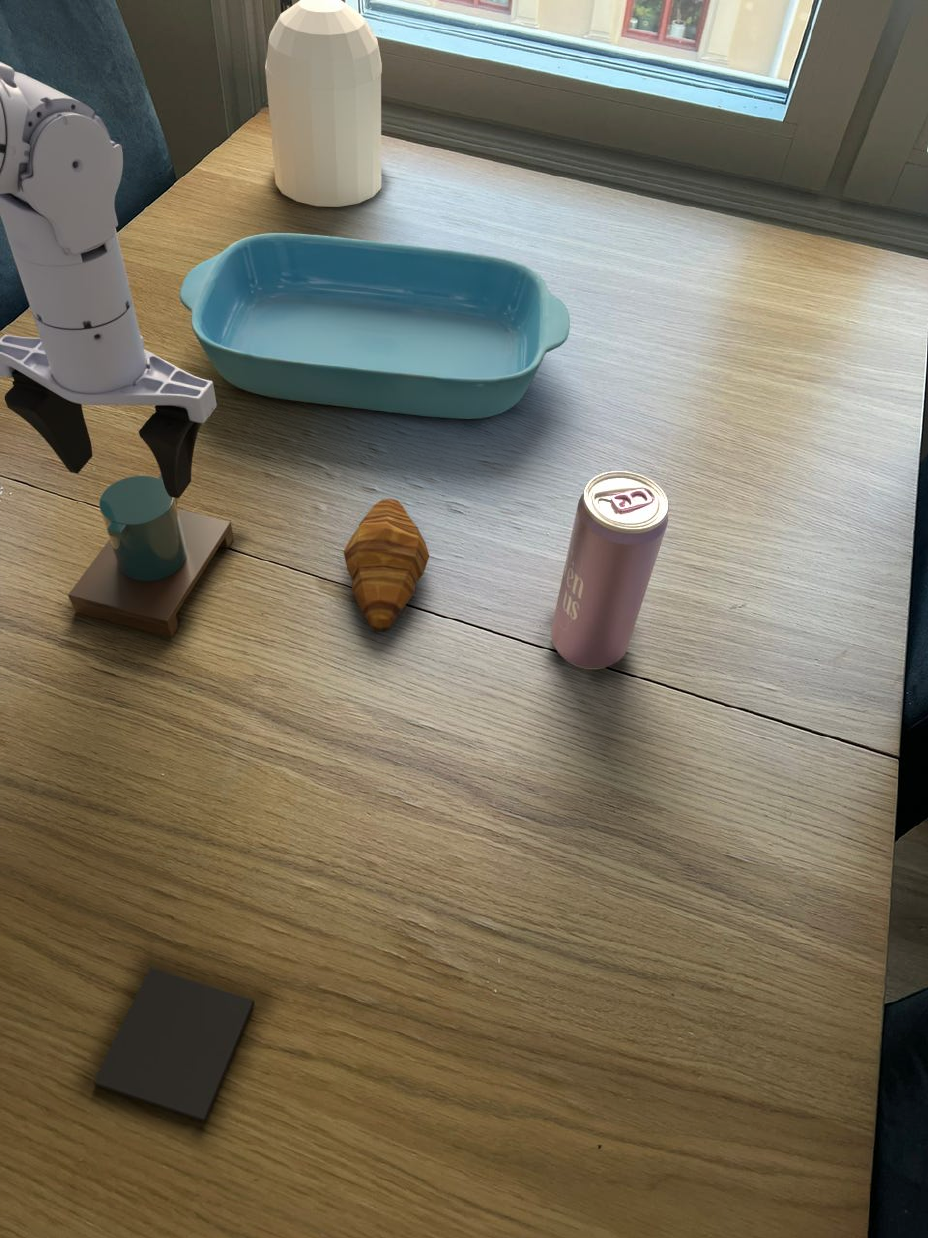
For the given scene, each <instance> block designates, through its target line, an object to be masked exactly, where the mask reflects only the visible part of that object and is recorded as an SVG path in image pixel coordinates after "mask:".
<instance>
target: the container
mask: <svg viewBox="0 0 928 1238" xmlns="http://www.w3.org/2000/svg"><path fill="white" fill-rule="evenodd" d="M264 71H265V81H266V93H267V104H268V114H269V127H270V136H271V147H272V148H271V149H272V158H273V159H272V160H273V170H274V180H275V181H274V182H275V186H276V187H277V189H278V190H279V191H280V193H281V194H282V195H284V196H286V197H288V198H289V199H291V200H293V201H295V202H297V203H301V204H306V205H309V206H314V207H327V208H328V207H329V208H331V207H332V208H333V207H334V208H341V207H345V206H352V205H359V204H360V203H363V202H365V201H367V200H370V199H372V198H374V197H375V196H376V195H377V194H378V192H380V191H381V189H382V73H383V63H382V58H381V53H380V46H379V41H378V38H377V36H376V35H375V33H374V31H373V30H372V28H371V27H370V25H369V23H368V22H367V20H366V18H365V17H364V16H363V15H362V14H360V13H359V11H357V10H356V9H355V8H353V7H352V6H350V5H349V4H347V3H346V2H344V1H343V0H299V1H297V2H295V3H293V5H291V6H290V7H289V8H287V9H286V10H284V11H283V12H281V13H280V14H279V16H278V18H277V20H276V22H275V23H274V25H273V28H272V29H271V31H270V33H269V37H268V42H267V52H266V59H265V66H264Z"/></svg>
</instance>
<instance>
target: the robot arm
mask: <svg viewBox="0 0 928 1238" xmlns="http://www.w3.org/2000/svg"><path fill="white" fill-rule="evenodd" d="M123 155H124V154H123V147H122V145H121V144H119V143H116V142H115V141H114V140H111V136H110V133H109V130H108V127H106V124H105V123H104V121H103V119H102V118H101V117H100V116H99V115H96V114H95V111H94V109H93V108H91V107H90V106H88V104H85V103H84V102H81V101H80V100H78V99H76V98H74V97H72V96H69V95H67V94H65V93H63V92H61V91H59V90H57V89H55V88H54V87H52V86H49V85H47V84H45V83H43V82H41V81H39V80H37V79H34V78H32V77H31V76H28V75H26V74H25V73H22V72H18V71H15V70H14V68H13V67H11V66H9V65H8V64H6V63H3V62H2V61H0V219H1V223H2V225H3V227H4V231H5V233H6V238H7V241H8V244H9V247H10V250H11V253H12V256H13V259H14V262H15V265H16V268H17V272H18V274H19V277H20V280H21V284H22V286H23V289H24V293H25V296H26V299H27V303H28V305H29V308H30V311H31V315H32V317H33V321H34V323H35V326H36V330H37V332H38V336H39V337H27V336H17V335H12V334H7V333H5V334H4V335H2V336H1V338H0V377H3V378H7V379H13V381H12V382H11V383H12V387H11V388H10V389H9V390H8V391H7V392H6V393H5V394H4V397H3V398H4V401H5V404H6V407H7V409H9V410H10V411H12V412H14V413H15V414H17V415H18V416H19V417H20V418H22V419H23V420H24V421H26V422H27V423H28V424H29V425H30V426H31V427H32V428H33V429H35V430H36V431H37V433H38V434H39V435H40V436H41V437H42V438H43V439H44V441H45V442H46V443H47V444H48V445H49V447H50V448H51V449H52V450H53V451H54V452H55V454H56V456H57V457H58V458H59V460H60V461H61V463H62V464H63V465H64V467H65V468H66V469H67V470H68V471H69V473H73V474H77V475H78V474H79V473H80V472H81V471H82V470H83V468H84V467H85V466H86V465H87V463H88V462H90V460H91V459H92V457H93V447H92V441H91V438H90V434H89V429H88V426H87V423H86V419H85V415H84V411H83V405H85V406H154V410H155V412H154V413H152V414H151V415H150V416H149V418H148V419H147V420H146V421H145V423H144V424H143V425H142V427H141V428H140V429H139V430H138V435H139V438H140V439H142V440H143V442H144V443H145V444H146V445H147V446H148V448H149V450H150V451H151V453H152V455H153V457H154V458H155V461H156V463H157V466H158V468H159V472H160V475H161V476H162V479H163V483H164V486H165V489H166V491H167V493H168V495H169V496H170V497H174V498H177V499H180V498H181V496H182V495H183V493H184V492H185V491H186V490H187V488H188V487H189V485H190V484H191V483H192V470H193V469H192V467H193V459H194V458H193V457H194V451H195V446H196V441H197V438H198V434H199V431H200V428H201V425H202V424H205V423H206V421H207V420H208V419H209V418H210V416H211V415H212V414H213V412H214V410H215V409H216V408H217V406H218V404H217V399H216V393H215V387H214V382H213V380H209V379H205V378H201V377H199V376H195V375H193V374H191V373H189V372H187V371H185V370H183V369H181V368H180V367H178V366H176V365H174V364H173V363H171V362H169V361H167V360H166V359H163V358H161V357H160V356H158V355H156V354H154V353H152V352H151V351H149V350H147V349H145V348H144V347H145V341H144V337H143V335H142V334H141V332H140V327H139V324H138V319H137V315H136V312H135V311H136V310H135V305H134V302H133V297H132V292H131V289H130V283H129V279H128V274H127V271H126V267H125V261H124V258H123V253H122V249H121V245H120V241H119V236H118V231H117V227H119V221H118V218H117V213H116V206H115V201H116V195H117V192H118V189H119V187H120V184H121V180H122V175H123V168H124V156H123Z"/></svg>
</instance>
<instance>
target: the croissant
mask: <svg viewBox="0 0 928 1238" xmlns="http://www.w3.org/2000/svg"><path fill="white" fill-rule="evenodd" d="M343 555H344V560H345V561H344V562H345V564H346V569H347V572H348V573H349V576H350V578H351V580H352V586H351V591H352V594H353V596H354V597H355V600H356V602H357V604H358V606H359V609H360V611H361V612H362V614H363V615H364V617H365V619H366V620H367V622H368V626H369V627H370V629H371V630H373V631H376V632H385V631H389V630H390V628H391V627H392V626H393V624H394V622H395V621H396V619H397V618H398V616H399V615H400V613H401V612H402V611H403V609H404V608H405V606H406V605H407V603H408V602H409V600H410V599H411V598H412V597H413V595H414V593H415V588H416V583H417V582H418V581H419V579H420V578H421V577H422V576H423V575H424V572H425V570H426V567H427V564H428V561H429V559H430V553H429V550H428V547H427V543H426V541H425V539H424V537H423V535H422V534H421V532H420V530H419V527H418V526H417V525H416V523H415V522H414V521H413V520H412V519H411V517H410V516H409V514H408V512H407V511H406V509H405V507H404V505H403V504H402V503H400V501H399V500H398V499H394V498H384V499H381V500H379V501H378V502H377V503H375V504H374V505H373V506H372V508H371V509H370V510H369V511H368V513H367V514H366V515H365V517H364V518H363V519H362V520H361V522H360V523H359V524H358V528H357V529H356V530H355V531H354V533H353V534H352V536H351V537H350V539H349V540H348V543H347V544H346V546H345V548H344V550H343Z"/></svg>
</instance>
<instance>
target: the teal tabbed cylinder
mask: <svg viewBox="0 0 928 1238" xmlns="http://www.w3.org/2000/svg"><path fill="white" fill-rule="evenodd" d="M178 504H179V502H178V498H174V497H170V496H169V495H168V493H167V491H166V489H165V486H164V483H163V479H162V476H161V474H160V475H159V476H158V477H155V476H151V475H134V476H133V475H132V476H128V477H125V478H124V477H123V478H122V479H119V480H117V481H115V482H113V483H112V484H110V485H109V486H108V487H107V488H106V489H105V490H104V491H103V493H102V494H101V496H100V499H99V503H98V505H99V511H100V513H101V517H102V519H103V523H104V526H105V529H106V531H107V535H108V539H109V540H110V541H111V544H112V547H113V551H114V554H115V557H116V560H117V563H118V566H119V568H120V570H121V571H122V572H123V573H124V574H125V575H126V576H128V577H130V578H132V579H135V580H139V581H156V580H160V579H164V578H166V577H169V576H171V575H172V574H174V573H176V572H177V571H178V570H179V569H180V568H181V567H182V566H183V564H184V563H185V561H186V558H187V548H186V544H185V540H184V536H183V531H182V527H181V523H180V519H179V514H178V509H179V508H178ZM177 508H178V509H177Z"/></svg>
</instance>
